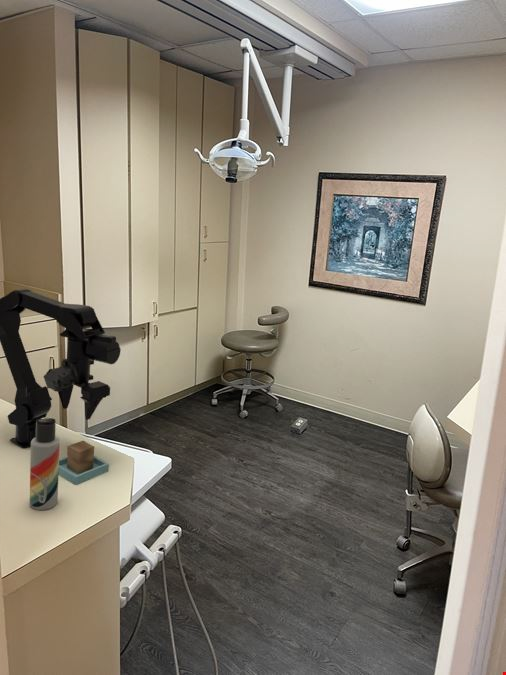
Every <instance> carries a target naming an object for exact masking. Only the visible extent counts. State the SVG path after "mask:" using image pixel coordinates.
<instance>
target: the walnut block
mask: <svg viewBox="0 0 506 675" xmlns="http://www.w3.org/2000/svg"><path fill="white" fill-rule="evenodd" d="M94 456H95V446H94V445H92V444H90V443H88V442H86V441H85V440H80V441H77V442H75V443H72V444H69V445H67V452H66V457H67V468H68V469H69V470H71V471H73V472H74V473H76V474H81V473H83V472H86V471H88V470H91V469H93V465H94Z"/></svg>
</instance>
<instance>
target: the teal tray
mask: <svg viewBox="0 0 506 675" xmlns="http://www.w3.org/2000/svg"><path fill="white" fill-rule="evenodd" d="M109 465H110V464H109V463H108V462H106V461H104V460H102V459H101V458H99V457H97V456H95V455H94V465H93V469H91V470H88V471H86V472H83V473H81V474H76V473H74V472H73V471H71V470H69V469H68V468H67V456H66V457H63V458H59V474H58V476H61V478H63V479H65V480H67V481H68V482H70V483H72V484H73V485H75V486H76V485H79V484H81V483H84V482H87V481H88V480H90V479H93V478H95V477H97V476H100V475H103V474H105V473H107V472H109V468H110V466H109Z"/></svg>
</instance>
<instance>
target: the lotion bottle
mask: <svg viewBox="0 0 506 675" xmlns="http://www.w3.org/2000/svg"><path fill="white" fill-rule="evenodd" d="M56 426H57V424H56V419H55V418H48V417H47V418H46V417H45V418H42V419H38V420H36V437H35V438H33V439H32V441H31V446H30V460H29V461H30V463H29V464H30V466H29V467H30V468H29V469H30V470H29V472H30V473H29V505H30V507H31V508H33V509H34V510H37V511H45V510H46V511H47V510H49V509H52V508H54V507H55V506H56V505H57V503H58V499H59V498H58V495H59V460H60V438H59V437H57V435H56Z"/></svg>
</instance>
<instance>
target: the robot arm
mask: <svg viewBox="0 0 506 675" xmlns="http://www.w3.org/2000/svg"><path fill="white" fill-rule="evenodd" d="M26 309H27V310H29V311H31V312H34V313H37V314H40V315H42V316H46V317H49V318H50V319H53V320H55V321H57V322H58V325H60V326H61V327H62V328H65V329H64V330H63V331H61V332H60V333H59V337H62V338H63V337H64V338H67V340H66V358H63V359H62V361H61V365H60V366H59V367H54V368H50V369H48V370H47V372H46V373H45V374H44V375H43V379H44V382H45V384H46V385H45V386H41V385H40V384H39V383H37V380H36V378H35V375H34V373H33V368H32V365H31V363H30V360H29V357H28V355H27V352H26V350H25V349H26V348H25V346H24V342H23V341H22V338H21V335H20V327H21V322H22V320H21V314H22V313H23V312H24V311H25V310H26ZM105 333H106V331H105V330H104V328H103V326H102V324H101V322H100V320H99V318H98V317H97V314H96V311H95V309H94V308H93V307H92V306H90V305H87V304H86V305H85V304H76V303H75V304H74V303H65V302H62V301H58V300H57V299H53V298H50V297H48V296H46V295H45V296H44V295H43V294H39V293H36V292H33V291H32V290H30V289H28V288H22V289H15V290H12V291H10V292H9V293H8V294H6V295H5V296H3V297H1V298H0V345H1V347H2V350H3V354H4V357H5V359H6V361H7V362H6V363H7V364H8V368H9V370H10V373H11V376H12V378H13V381H14V385H15V387H16V392H15V397H14V405H15V406H14V407H15V409H14V410H13V411H11V412H10V413H9V414H8V415H7V421H8V423H9V424H11V425H14V426H15V436H13V437H11V438H9V440H10V442H12V443H13V444H15V445H17V446H19V447H21V449H25V448H28V447H31V441H32V439H33V438H35V437H36V420H38V419H45V418H46V417H47V415H48V413H49V412H50V410H51V408H52V400H53V398H52V397H51V396H50V393H49V389H50V390H53V391H54V392H57V393H58V394H57V395H58V397H59V400H60V402H61V403H60V404H61V405H62V409H64V410H66V409H68V408H69V405H70V402H71V398H72V394H73V390H74V386H76V387H78V388H80V394H81V396H80V399H81V400H82V401H84V418H85V420H87V421H88V420H91V418H92V416H93V415H94V413H95V411H96V410H97V408H98V406H99V404H100V403H101V402H102V400H103V399H104V398H107V397H109V396H111V386H109V384H107V383H105V382H102V381H100V380H98V381H94V375H93V374H91V366H92V365H95V362H100V363H104V364H106V365H107V364H108V365H114V364H116V363H117V362H118V360H119V358H120V355H121V350H122V349H121V347H120V343H119V342H118V341H117V336H114V335H106V334H105ZM89 381H93V382H89Z"/></svg>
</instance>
